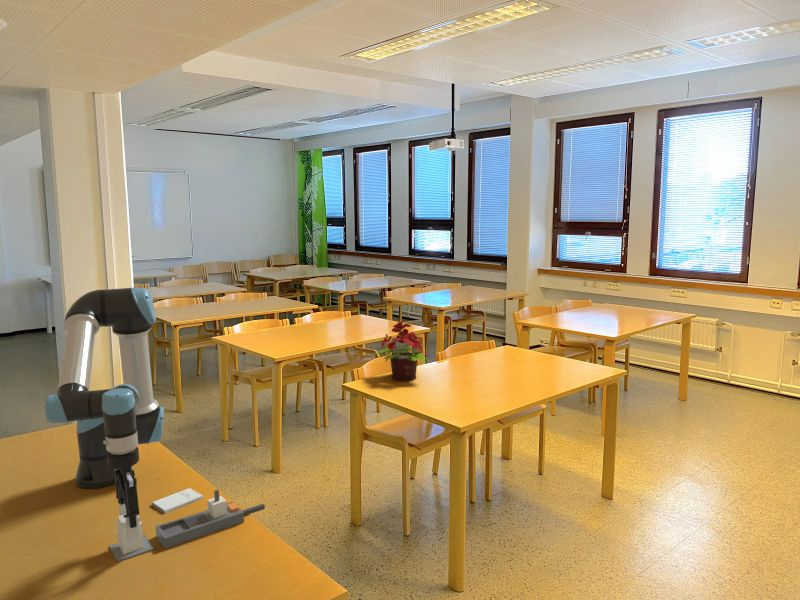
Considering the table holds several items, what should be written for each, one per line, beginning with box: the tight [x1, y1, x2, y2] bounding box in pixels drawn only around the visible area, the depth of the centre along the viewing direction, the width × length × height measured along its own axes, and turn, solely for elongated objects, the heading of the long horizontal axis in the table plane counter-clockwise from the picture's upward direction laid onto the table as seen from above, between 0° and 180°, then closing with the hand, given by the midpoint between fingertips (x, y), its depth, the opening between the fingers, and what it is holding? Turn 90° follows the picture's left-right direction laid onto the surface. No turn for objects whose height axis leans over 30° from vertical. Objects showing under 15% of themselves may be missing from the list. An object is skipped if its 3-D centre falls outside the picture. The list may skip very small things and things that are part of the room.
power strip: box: [155, 489, 266, 550], centre depth 172 cm, size 30×8×10 cm, turn 127°
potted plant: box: [373, 321, 428, 382], centre depth 313 cm, size 30×27×30 cm
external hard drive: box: [151, 487, 204, 514], centre depth 187 cm, size 2×8×12 cm
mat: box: [108, 534, 155, 563], centre depth 162 cm, size 9×9×1 cm
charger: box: [116, 514, 144, 554], centre depth 161 cm, size 5×5×8 cm
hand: (129, 531), depth 161 cm, fingers open, 6 cm apart
